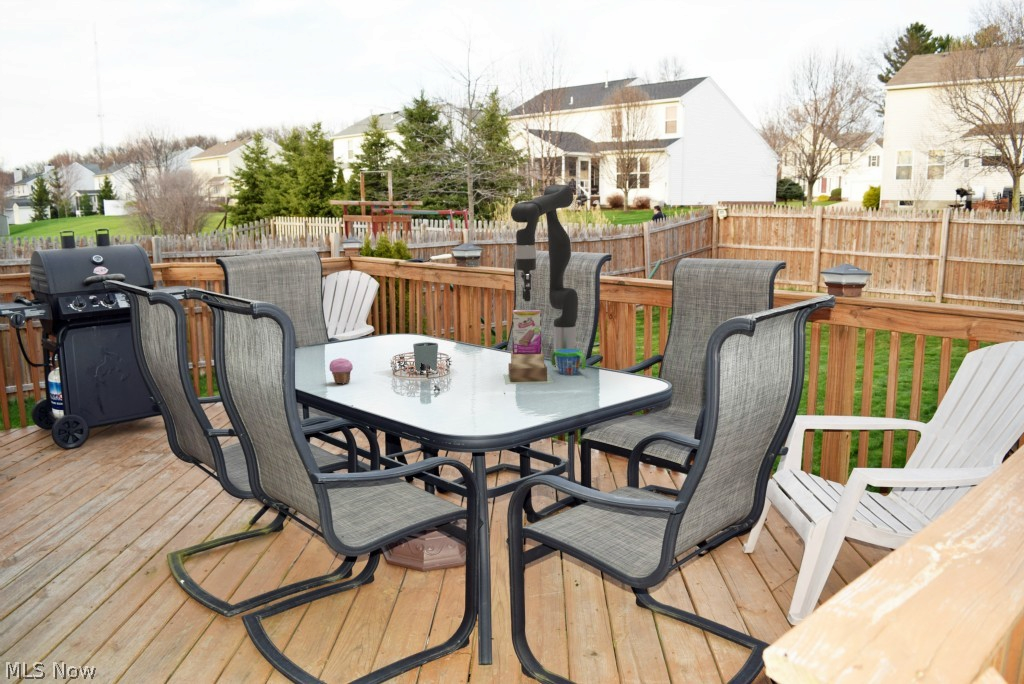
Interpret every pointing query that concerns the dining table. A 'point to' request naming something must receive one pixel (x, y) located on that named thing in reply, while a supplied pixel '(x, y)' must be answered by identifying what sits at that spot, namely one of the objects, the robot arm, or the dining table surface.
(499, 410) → the dining table surface
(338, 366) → the cupcake
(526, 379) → the walnut block
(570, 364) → the snack cup
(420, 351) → the grey green cup
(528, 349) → the candy bar box
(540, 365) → the maple block
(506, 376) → the sage mat
